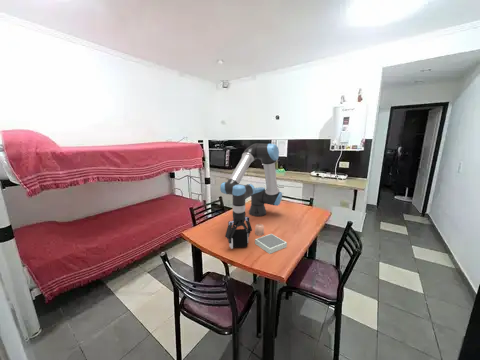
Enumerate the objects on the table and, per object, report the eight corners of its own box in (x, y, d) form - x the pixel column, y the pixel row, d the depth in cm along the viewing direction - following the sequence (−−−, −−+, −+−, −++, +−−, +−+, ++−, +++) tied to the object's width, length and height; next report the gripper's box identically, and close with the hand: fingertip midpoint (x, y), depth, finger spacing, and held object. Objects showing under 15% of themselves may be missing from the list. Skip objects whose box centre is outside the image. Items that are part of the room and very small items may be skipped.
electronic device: (230, 244, 125) (230, 229, 123) (246, 243, 126) (246, 228, 124) (231, 247, 121) (230, 232, 119) (247, 247, 122) (247, 231, 120)
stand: (254, 243, 128) (255, 238, 127) (271, 237, 136) (271, 233, 135) (269, 254, 117) (269, 248, 116) (286, 247, 124) (286, 242, 123)
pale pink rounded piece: (253, 233, 142) (253, 225, 141) (259, 231, 145) (260, 223, 144) (258, 236, 137) (258, 228, 136) (265, 234, 140) (265, 226, 139)
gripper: (225, 217, 109) (225, 253, 114) (258, 209, 122) (257, 242, 127) (218, 213, 116) (219, 247, 120) (250, 205, 128) (250, 237, 133)
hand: (239, 244), depth 124 cm, fingers closed on electronic device, 11 cm apart
